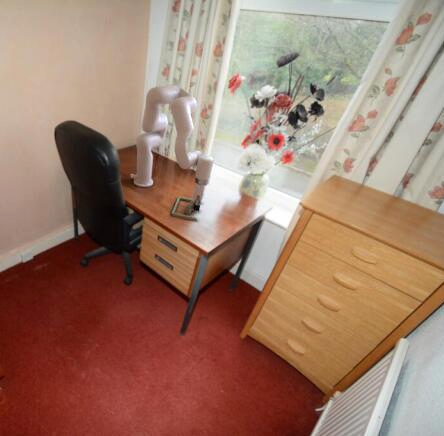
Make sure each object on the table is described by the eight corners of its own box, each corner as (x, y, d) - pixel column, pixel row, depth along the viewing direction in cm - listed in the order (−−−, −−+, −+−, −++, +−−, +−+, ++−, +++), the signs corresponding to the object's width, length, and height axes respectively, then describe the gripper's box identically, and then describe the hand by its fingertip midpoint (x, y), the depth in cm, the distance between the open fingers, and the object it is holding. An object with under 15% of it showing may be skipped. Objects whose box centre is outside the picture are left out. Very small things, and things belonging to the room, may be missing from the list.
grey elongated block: (188, 214, 146) (189, 208, 144) (184, 213, 147) (185, 207, 145) (197, 204, 154) (198, 198, 152) (192, 203, 156) (193, 197, 153)
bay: (171, 215, 146) (171, 213, 145) (178, 198, 160) (178, 196, 159) (196, 221, 142) (196, 218, 141) (201, 203, 157) (201, 200, 156)
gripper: (196, 172, 146) (191, 202, 156) (192, 185, 134) (187, 215, 144) (210, 175, 144) (204, 204, 154) (207, 187, 132) (201, 218, 143)
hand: (196, 209), depth 149 cm, fingers closed
